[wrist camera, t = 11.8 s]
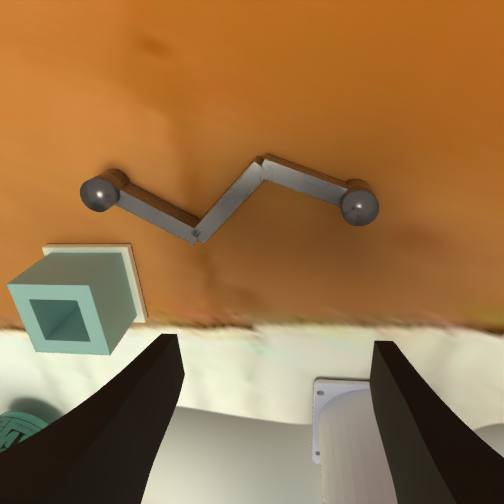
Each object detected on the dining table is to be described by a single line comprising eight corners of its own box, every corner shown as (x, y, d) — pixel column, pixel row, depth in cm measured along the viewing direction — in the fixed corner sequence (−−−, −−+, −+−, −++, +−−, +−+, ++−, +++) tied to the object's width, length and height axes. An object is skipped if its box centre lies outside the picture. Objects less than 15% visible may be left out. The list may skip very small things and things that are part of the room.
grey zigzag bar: (366, 234, 21) (374, 252, 19) (115, 236, 23) (96, 253, 21) (374, 149, 19) (384, 159, 16) (95, 160, 21) (72, 169, 19)
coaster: (147, 318, 26) (145, 322, 25) (72, 316, 27) (68, 320, 26) (130, 243, 23) (127, 247, 23) (46, 244, 24) (41, 247, 23)
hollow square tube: (137, 315, 25) (110, 355, 22) (72, 313, 26) (35, 351, 22) (121, 252, 23) (88, 285, 19) (50, 252, 24) (6, 284, 20)
